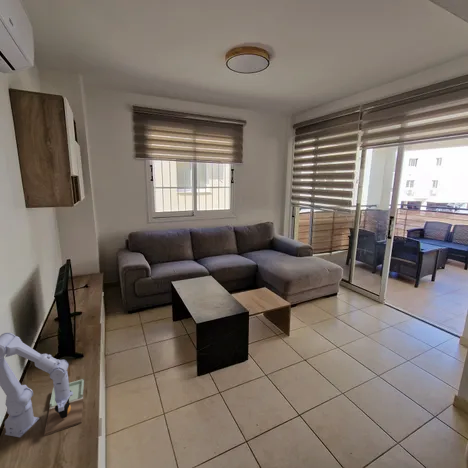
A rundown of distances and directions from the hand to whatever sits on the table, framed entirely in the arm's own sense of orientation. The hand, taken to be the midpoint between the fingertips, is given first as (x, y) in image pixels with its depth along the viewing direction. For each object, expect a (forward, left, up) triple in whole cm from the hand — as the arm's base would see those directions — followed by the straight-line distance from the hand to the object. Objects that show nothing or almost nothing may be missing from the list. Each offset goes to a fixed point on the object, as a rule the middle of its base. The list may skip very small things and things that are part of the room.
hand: (64, 412), depth 122 cm
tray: (+11, +8, -1) cm, 14 cm away
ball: (0, 0, +2) cm, 2 cm away
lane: (+5, +4, -2) cm, 6 cm away
